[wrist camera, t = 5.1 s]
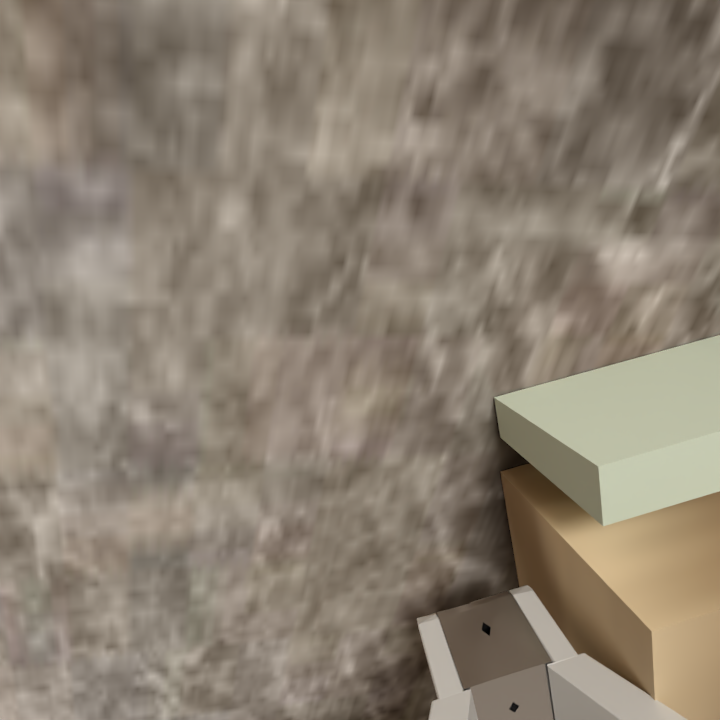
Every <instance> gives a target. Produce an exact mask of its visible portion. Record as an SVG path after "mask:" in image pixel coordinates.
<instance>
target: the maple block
mask: <svg viewBox="0 0 720 720" xmlns="http://www.w3.org/2000/svg"><path fill="white" fill-rule="evenodd" d="M500 473H501V479H502V485H503V491H504V497H505V503H506V509H507V515H508V521H509V527H510V533H511V539H512V545H513V552H514V558H515V564H516V570H517V576H518V582H519V587H522V586H525V585H528V586H530V587H531V588H532V589H533V591H534V592H535V593H536V595H537V596H538V598H539V599H540V601H541V602H542V604H543V605H544V606H545V608H546V609H547V611H548V612H549V614H550V615H551V617H552V618H553V619H554V621H555V622H556V624H557V625H558V627H559V628H560V630H561V631H562V632H563V634H564V635H565V637H566V638H567V640H568V641H569V643H570V644H571V645H572V647H573V648H574V650H575V651H576V653H577V654H581V653H585V654H587V655H588V656H590V657H592V658H593V659H595V660H596V661H598V662H599V663H601V664H602V665H604V666H605V667H607V668H609V669H610V670H612V671H613V672H615V673H616V674H618V675H619V676H621V677H623V678H624V679H626V680H627V681H629V682H630V683H632V684H633V685H635V686H636V687H638V688H640V689H641V690H643V691H644V692H646V693H647V694H649V695H650V696H651V697H652V698H653V699H654V700H658V701H660V702H661V703H663V704H664V705H666V706H667V707H669V708H671V709H672V710H674V711H675V712H677V713H678V714H680V715H681V716H683V717H684V718H686V719H688V720H720V491H719V492H716V493H712V494H709V495H706V496H702V497H699V498H696V499H692V500H689V501H686V502H682V503H679V504H676V505H672V506H669V507H666V508H662V509H659V510H656V511H653V512H649V513H646V514H643V515H639V516H636V517H633V518H629V519H626V520H623V521H619V522H616V523H613V524H609V525H606V526H602V525H601V524H600V523H599V522H598V521H596V520H595V519H594V518H593V517H592V516H591V515H589V514H588V513H587V512H586V511H585V510H584V509H582V508H581V507H580V506H579V505H578V504H577V503H576V502H574V501H573V500H572V499H571V498H570V497H569V496H567V495H566V494H565V493H564V492H563V491H562V490H560V489H559V488H558V487H557V486H556V485H555V484H554V483H552V482H551V481H550V480H549V479H548V478H547V477H545V476H544V475H543V474H542V473H541V472H540V471H539V470H537V469H536V468H535V467H534V466H533V465H532V464H530V463H528V464H525V465H522V466H518V467H515V468H511V469H508V470H505V471H501V472H500Z"/></svg>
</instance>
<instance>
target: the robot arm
mask: <svg viewBox="0 0 720 720" xmlns="http://www.w3.org/2000/svg"><path fill="white" fill-rule="evenodd" d="M417 624H418V628H419V632H420V635H421V639H422V643H423V647H424V651H425V655H426V658H427V662H428V666H429V670H430V674H431V677H432V681H433V685H434V688H435V692H436V696H437V699H436V700H433V701H432V703H431V708H430V713H429V718H428V720H688V719H686V718H684V717H683V716H681V715H680V714H678V713H677V712H675V711H674V710H672V709H671V708H669V707H667V706H666V705H664V704H663V703H661V702H660V701H658V700H654V699H653V698H652V697H651V696H650V695H649V694H647V693H646V692H644V691H643V690H641V689H640V688H638V687H636V686H635V685H633V684H632V683H630V682H629V681H627V680H626V679H624V678H623V677H621V676H619V675H618V674H616V673H615V672H613V671H612V670H610V669H609V668H607V667H605V666H604V665H602V664H601V663H599V662H598V661H596V660H595V659H593V658H592V657H590V656H588V655H587V654H585V653H581V654H577V653H576V651H575V650H574V648H573V647H572V645H571V644H570V643H569V641H568V640H567V638H566V637H565V635H564V634H563V632H562V631H561V630H560V628H559V627H558V625H557V624H556V622H555V621H554V619H553V618H552V617H551V615H550V614H549V612H548V611H547V609H546V608H545V606H544V605H543V604H542V602H541V601H540V599H539V598H538V596H537V595H536V593H535V592H534V591H533V589H532V588H531V587H530V586H528V585H525V586H522V587H519V588H515V589H512V590H509V591H504V592H501V593H498V594H494V595H491V596H488V597H485V598H482V599H479V600H476V601H473V602H470V604H466V605H462V606H459V607H455V608H451V609H448V610H444V611H440V612H437V613H433V614H430V615H426V616H423V617H419V618H417Z"/></svg>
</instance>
